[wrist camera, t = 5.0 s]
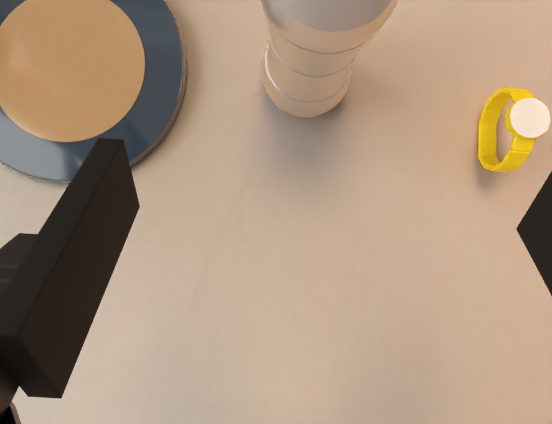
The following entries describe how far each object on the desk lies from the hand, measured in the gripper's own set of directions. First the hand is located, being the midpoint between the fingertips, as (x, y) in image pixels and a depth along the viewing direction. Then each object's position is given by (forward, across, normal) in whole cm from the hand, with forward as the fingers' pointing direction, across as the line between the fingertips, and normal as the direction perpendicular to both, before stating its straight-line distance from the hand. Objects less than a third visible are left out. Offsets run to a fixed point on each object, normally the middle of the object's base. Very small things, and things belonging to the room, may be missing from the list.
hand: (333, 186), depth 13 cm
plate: (+21, -18, -7) cm, 29 cm away
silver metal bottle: (+22, 0, -7) cm, 23 cm away
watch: (+19, +15, -10) cm, 26 cm away
